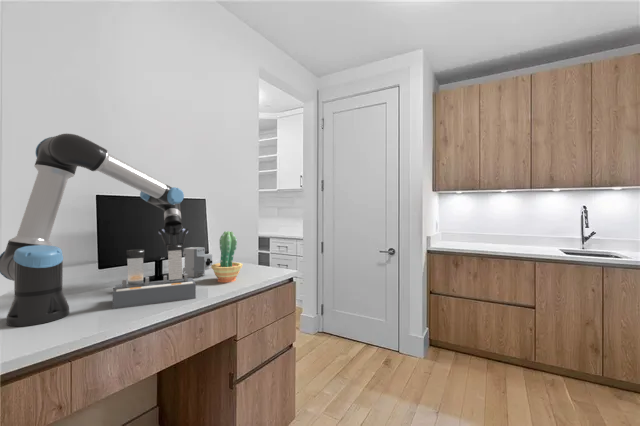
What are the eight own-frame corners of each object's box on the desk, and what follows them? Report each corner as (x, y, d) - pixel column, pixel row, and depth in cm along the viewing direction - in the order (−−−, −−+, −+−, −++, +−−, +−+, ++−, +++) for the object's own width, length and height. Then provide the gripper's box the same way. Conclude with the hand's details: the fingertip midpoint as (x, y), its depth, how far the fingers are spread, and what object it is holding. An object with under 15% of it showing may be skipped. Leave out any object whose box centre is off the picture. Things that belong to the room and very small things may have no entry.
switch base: (112, 308, 110) (112, 284, 110) (116, 300, 120) (116, 277, 120) (195, 298, 123) (195, 276, 123) (192, 291, 134) (192, 270, 134)
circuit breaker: (207, 277, 160) (207, 249, 160) (183, 276, 163) (183, 248, 163) (214, 274, 167) (214, 247, 167) (191, 273, 170) (191, 247, 170)
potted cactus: (247, 278, 160) (248, 230, 160) (232, 285, 145) (232, 232, 145) (221, 276, 164) (222, 230, 164) (204, 282, 149) (204, 232, 149)
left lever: (127, 287, 116) (126, 253, 110) (127, 282, 118) (126, 248, 112) (144, 285, 118) (143, 252, 113) (144, 280, 121) (144, 247, 115)
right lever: (168, 279, 122) (167, 244, 128) (167, 281, 125) (167, 246, 130) (183, 278, 125) (182, 243, 131) (182, 280, 128) (181, 245, 133)
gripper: (186, 224, 154) (190, 262, 139) (157, 225, 147) (158, 265, 133) (188, 214, 149) (192, 252, 135) (157, 214, 143) (158, 254, 128)
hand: (175, 258), depth 134 cm, fingers closed
